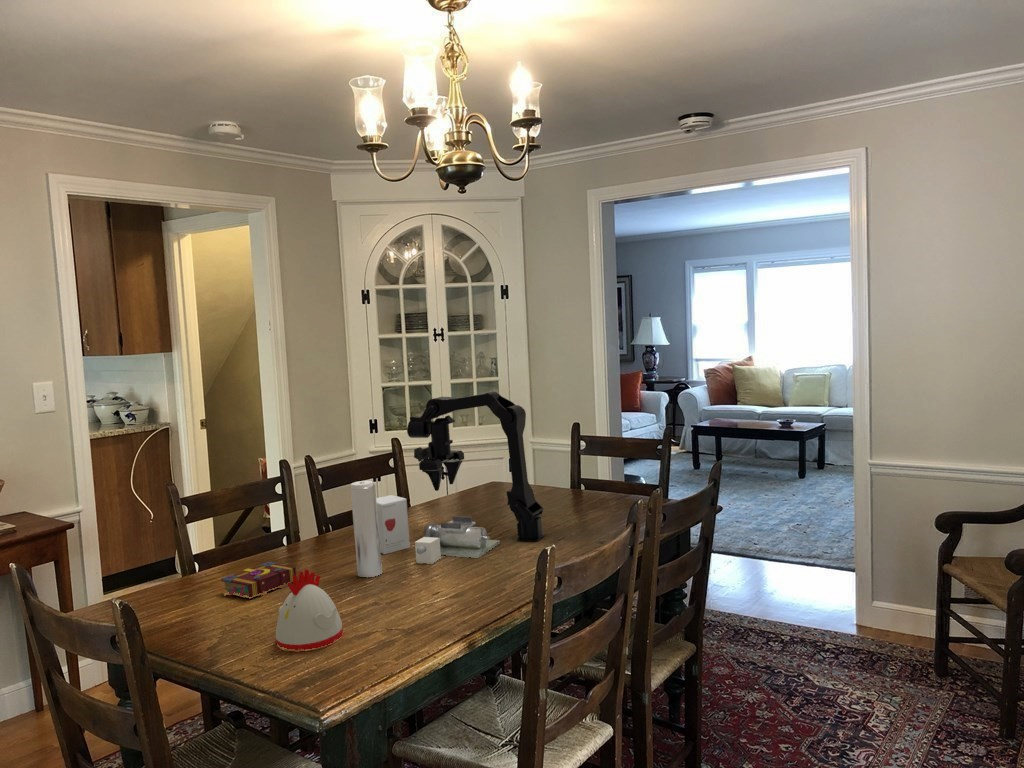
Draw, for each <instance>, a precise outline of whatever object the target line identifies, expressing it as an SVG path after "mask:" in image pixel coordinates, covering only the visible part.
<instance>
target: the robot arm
mask: <svg viewBox="0 0 1024 768" xmlns="http://www.w3.org/2000/svg"><path fill="white" fill-rule="evenodd" d="M480 407H487V408H489V410H490V411H491V412H492V414H493V415H495V417H496V418H498V419H499V423H500V426H501V429H502V430H503V432H504V434H505V436H506V440H507V446H508V454H509V456H508V457H509V464H510V474H511V481H512V484H511V488H510V489H508V490H507V491H506V496H507V497H506V498H507V506H509V509H510V511H511V513H513V514H514V517H515V519H516V521H517V523H516V524H517V525H516V527H517V528H516V529H517V538H516V539H517V541H525V542H527V541H528V542H539V541H540V540H541V539H542V538H544V537H545V533H543V525H542V523H543V522H542V521H543V520H542V515H543V512H544V507H543V506H542V505H541V504H540V503H539V502H538V501H537V499H536V498H535V493H534V489H533V488H532V487H531V485H530V483H529V479H528V470H527V462H526V461H527V460H526V454H525V453H526V451H525V446H524V445H525V443H524V432H525V427H526V418H527V417H526V415H527V414H526V413H527V412H526V410H525V408H524V407H522V406H521V405H519V404H515V403H514V402H513V401H511V400H509V399H507V398H506V397H504V396H502V395H501V394H499V393H498V392H496V391H495V390H493V391H489V392H486V393H485V392H484V393H480V394H479V393H478V394H474V395H467V396H462V397H452V396H439V397H435V398H431V399H429V400H427V403H426V404H425V409H424V412H423V413H422V415H421V416H417V415H413V416H410V417H409V422H408V424H407V428H406V433H407V436H408V437H409V438H410V439H421V438H422V439H428V438H429V437H430V439H431V441H429V442H428V443H427V445H428V447H426V448H422V447H421V446H420V447H417V448H415V449H414V450H413V459H416V460H417V461H418V469H419V470H420V471H422V473H425V474H426V475H428V477H429V480H430V482H431V484H432V486H433V490H434V491H436V492H438V491H439V490H440V487H441V482H442V477H443V471H444V468H443V465H444V466H445V468H446V473H447V478H448V482H449V483H448V484H449V485H453V484H454V483H455V480H456V477H457V474H458V472H459V470H460V467H461V465H462V463H463V460H465V453H464V452H463V450H458V449H456V450H452V449H451V448H452V447H451V445H452V444H453V443H454V442H453V439H451V438H450V424H454V423H455V422H456V420H455V419H454V418H452V417H451V415H449V414H451V413H454V412H455V411H460V410H461V411H462V410H467V409H472V408H473V409H474V408H480ZM442 416H445V417H442ZM433 419H434V420H433ZM419 470H418V471H419Z"/></svg>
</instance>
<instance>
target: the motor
mask: <svg viewBox="0 0 1024 768" xmlns="http://www.w3.org/2000/svg"><path fill="white" fill-rule="evenodd" d="M475 525H476V521H473V516H463V515H462V516H459V515H454V516H452V520H450V521H448V522H443V521H442V522H440V524H438V523H428V524H427V525H426V526H425V528H424V532H423V537H434V538H440V550H441V555H446V556H445V557H455V556H456V557H458V558H469V557H471V559H472V558H473V559H474V558H475V559H480V558H481V557H482V555H483V556H484V555H486V554H487V553H488V552H490V551H491V550H493V549H495V548H496V547H497V546H499V545H500V544H501V540H497V539H491V536H489V535H488V534H487V533H488V532H487V529H486V528H485V527H482V526H475ZM498 544H499V545H498ZM495 546H496V547H495ZM492 548H493V549H492ZM489 550H490V551H489ZM486 552H487V553H486ZM479 557H480V558H479Z"/></svg>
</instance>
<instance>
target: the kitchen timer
mask: <svg viewBox="0 0 1024 768" xmlns="http://www.w3.org/2000/svg"><path fill="white" fill-rule="evenodd" d="M315 573H316V572H313V571H311V572H310V571H309V569H307V568H306V569H305V568H304V571H301V570H300V571H299V573H298V577H297V574H296V575H293V583H288V586H287V587H288V588H289V590H290V593H289V594H288V595H287V597H286V598H285V600H284V602H283V604H282V605H280V607H279V608H278V612H277V613H278V617H277V622H276V628H275V643H276V642H277V644H278V645H279V646H280V647H284V648H287V649H295V650H301V649H302V650H303V649H304V650H305V649H312V648H318V647H321V646H325V645H328V644H330V643H333V642H334V641H336V640H337V639H339V638H340V637H341V636H342V637H343V635H342V633H343V634H344V632H343V631H344V629H343V623H342V619H341V616H340V614H339V612H338V609H337V607H336V604H335V603H334V601H333V600H332V598H331V597H330V595H328V593H327V592H326V591H325V590H324V589H322V588H321V587H319V584H320V579H321V575H318V574H316V575H315ZM342 637H341V638H342ZM341 638H340V639H341ZM340 639H339V640H340Z"/></svg>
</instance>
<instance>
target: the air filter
mask: <svg viewBox="0 0 1024 768" xmlns="http://www.w3.org/2000/svg"><path fill="white" fill-rule="evenodd" d="M376 491H377V490H376V485H375V484H374V483H373V481H371V480H361V481H360V480H359V481H354V482H352V483H350V497H351V510H352V512H351V513H352V522H353V533H354V535H353V536H354V544H355V556H356V557H355V558H356V570H357V576H358V577H359V576H360V577H367V578H366V579H369V578H368V577H372V578H376V577H379V576H381V575H382V574H383V566H382V553H381V551H380V539H379V527H378V515H377V503H376V498H377V496H376V495H377V492H376ZM380 574H381V575H380ZM378 575H379V576H378ZM375 576H376V577H375ZM360 577H359V578H360Z"/></svg>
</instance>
